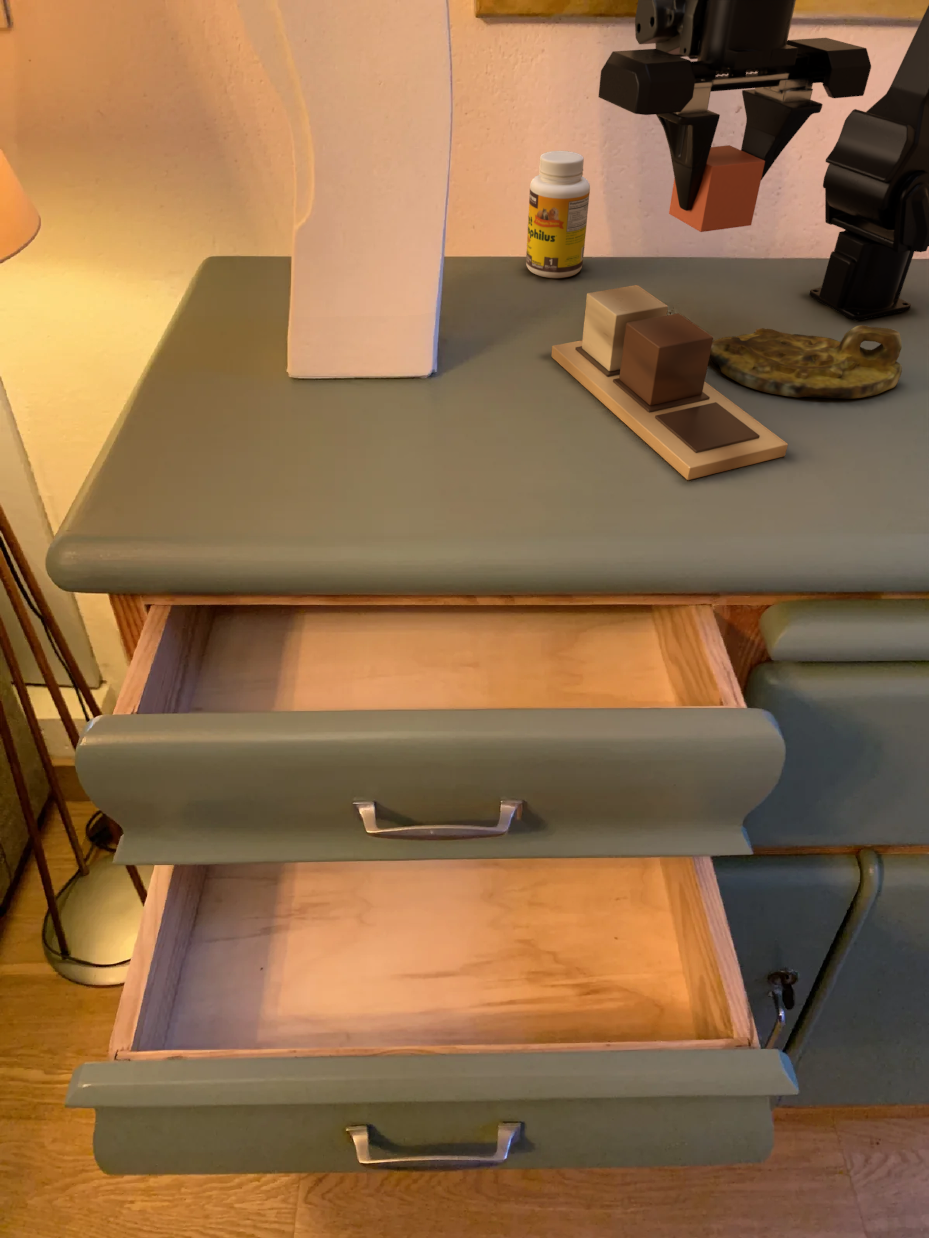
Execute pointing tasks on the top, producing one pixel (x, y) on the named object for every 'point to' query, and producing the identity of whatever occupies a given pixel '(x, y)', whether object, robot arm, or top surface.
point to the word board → (677, 430)
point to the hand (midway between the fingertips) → (712, 205)
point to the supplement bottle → (557, 216)
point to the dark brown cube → (665, 358)
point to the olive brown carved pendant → (811, 362)
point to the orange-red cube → (723, 191)
